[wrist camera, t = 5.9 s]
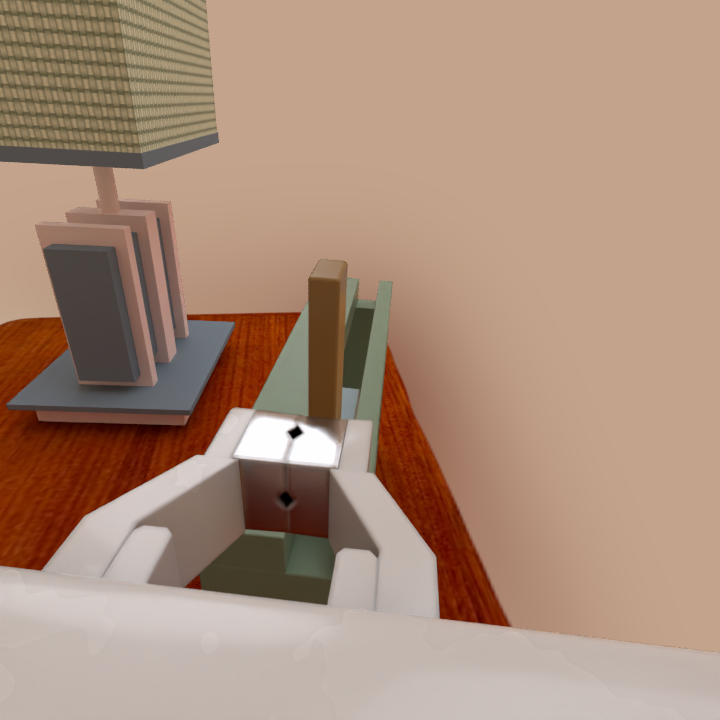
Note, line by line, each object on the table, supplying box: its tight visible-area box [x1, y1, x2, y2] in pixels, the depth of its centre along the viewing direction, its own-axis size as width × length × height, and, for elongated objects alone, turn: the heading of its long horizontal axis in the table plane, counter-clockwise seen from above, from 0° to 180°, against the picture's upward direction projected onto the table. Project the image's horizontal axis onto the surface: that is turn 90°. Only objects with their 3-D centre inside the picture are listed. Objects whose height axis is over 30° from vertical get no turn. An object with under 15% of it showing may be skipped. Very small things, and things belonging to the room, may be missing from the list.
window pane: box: [308, 259, 360, 420], centre depth 20 cm, size 1×9×19 cm, turn 175°
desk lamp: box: [0, 0, 235, 425], centre depth 38 cm, size 18×14×33 cm
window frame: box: [199, 278, 393, 605], centre depth 26 cm, size 5×22×14 cm, turn 175°
